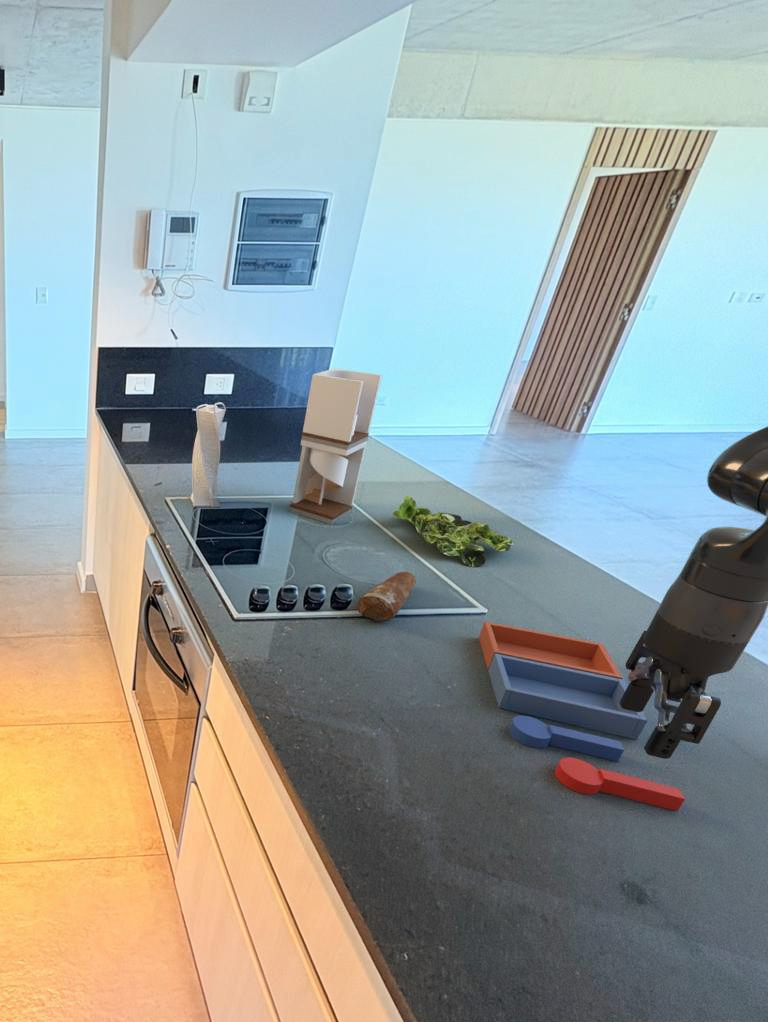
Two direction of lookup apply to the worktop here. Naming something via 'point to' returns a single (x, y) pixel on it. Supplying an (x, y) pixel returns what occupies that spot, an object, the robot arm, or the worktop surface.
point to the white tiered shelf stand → (334, 442)
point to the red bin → (546, 649)
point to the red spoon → (616, 784)
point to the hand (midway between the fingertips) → (641, 730)
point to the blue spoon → (563, 738)
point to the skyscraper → (206, 456)
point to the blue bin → (564, 695)
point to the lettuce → (453, 533)
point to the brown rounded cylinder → (387, 597)
